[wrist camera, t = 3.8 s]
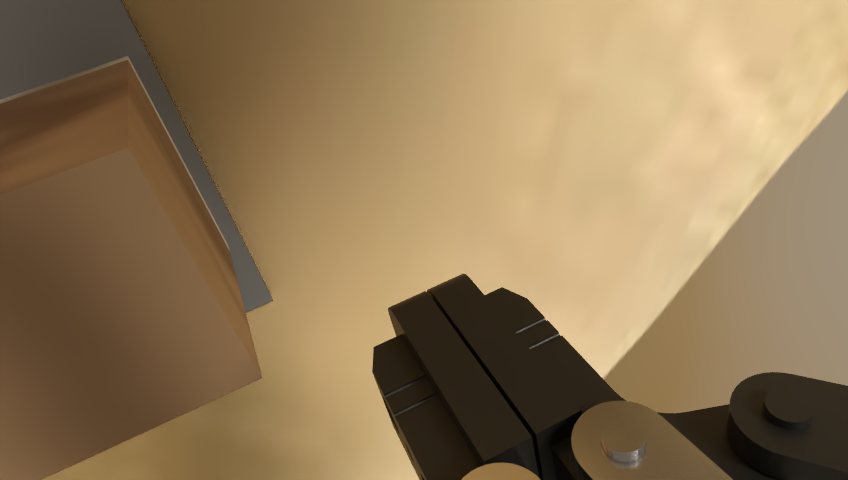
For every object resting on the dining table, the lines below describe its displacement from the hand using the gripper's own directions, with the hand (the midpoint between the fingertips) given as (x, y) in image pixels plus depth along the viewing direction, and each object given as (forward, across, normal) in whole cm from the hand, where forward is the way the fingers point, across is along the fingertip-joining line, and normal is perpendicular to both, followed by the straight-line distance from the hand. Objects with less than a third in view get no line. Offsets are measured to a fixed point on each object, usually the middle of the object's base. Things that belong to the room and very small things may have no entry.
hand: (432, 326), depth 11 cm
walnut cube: (+12, +7, 0) cm, 14 cm away
